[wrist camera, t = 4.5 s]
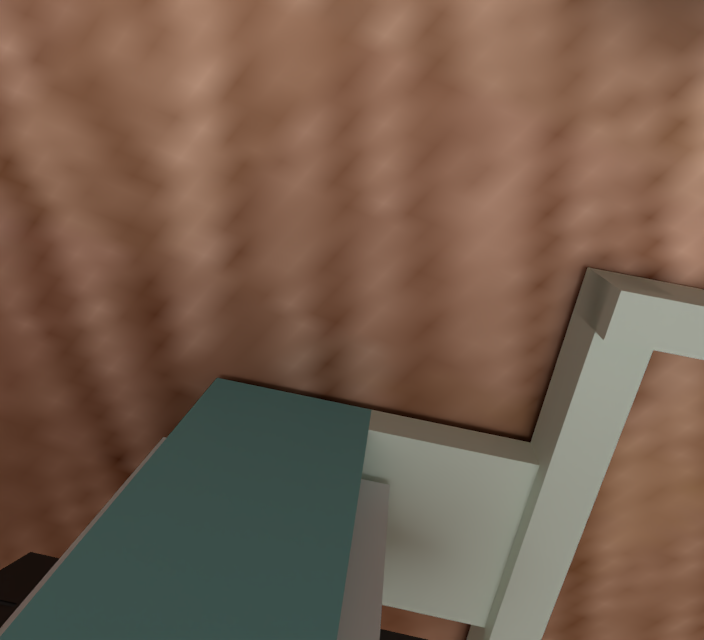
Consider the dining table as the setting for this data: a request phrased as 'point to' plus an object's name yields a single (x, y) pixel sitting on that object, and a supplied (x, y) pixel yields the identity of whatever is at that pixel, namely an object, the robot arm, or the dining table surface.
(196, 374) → the dining table surface
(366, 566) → the robot arm
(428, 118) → the dining table surface
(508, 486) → the frame
